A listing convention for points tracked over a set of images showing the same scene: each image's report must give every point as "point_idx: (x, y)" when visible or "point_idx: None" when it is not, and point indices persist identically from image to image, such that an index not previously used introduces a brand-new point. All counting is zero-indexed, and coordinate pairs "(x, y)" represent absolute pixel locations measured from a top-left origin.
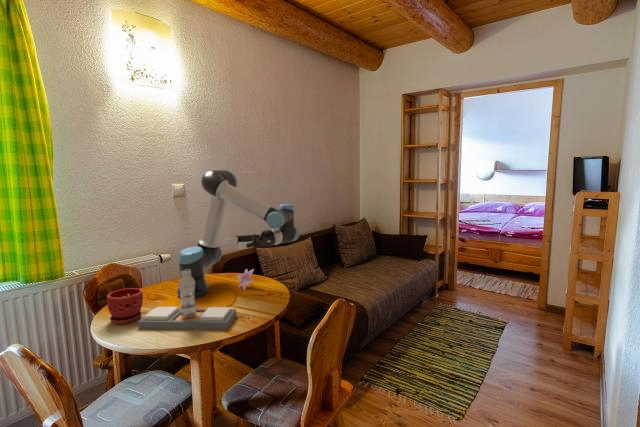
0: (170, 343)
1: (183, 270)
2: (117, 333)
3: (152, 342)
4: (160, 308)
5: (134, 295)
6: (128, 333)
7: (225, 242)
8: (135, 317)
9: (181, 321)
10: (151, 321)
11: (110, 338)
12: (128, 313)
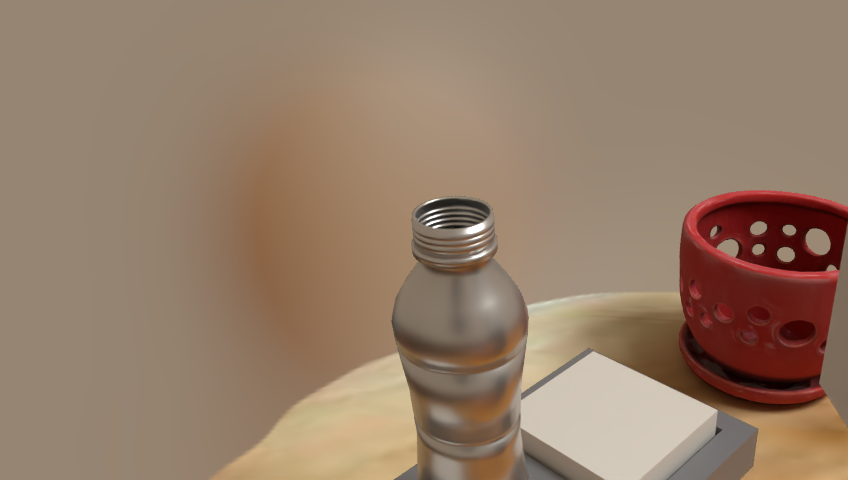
0: (303, 436)
1: (487, 211)
2: (594, 330)
3: (384, 394)
4: (667, 417)
5: (700, 247)
6: (562, 352)
7: (834, 327)
8: (696, 365)
9: (412, 476)
10: (542, 383)
11: (559, 313)
12: (684, 314)
